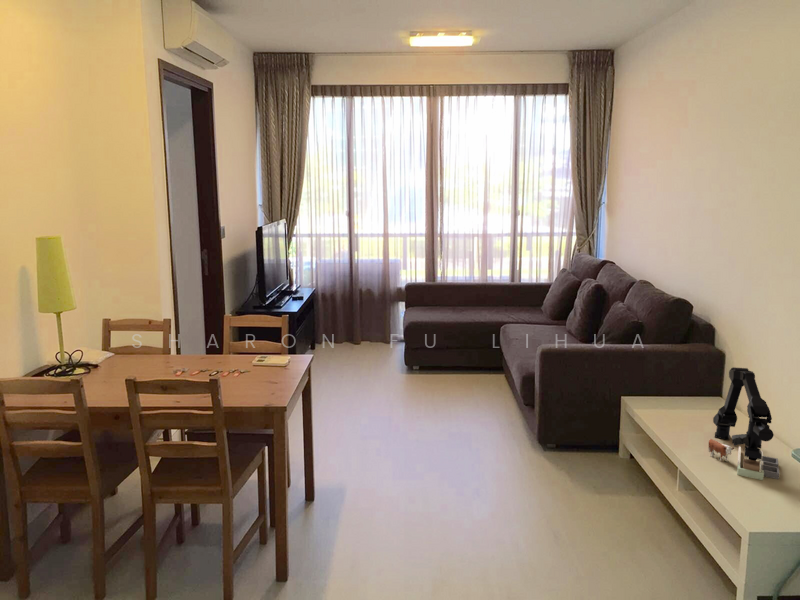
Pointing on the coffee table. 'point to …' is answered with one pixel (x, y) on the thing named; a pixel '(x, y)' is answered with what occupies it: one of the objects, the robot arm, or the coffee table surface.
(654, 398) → the coffee table surface
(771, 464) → the trap pen
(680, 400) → the coffee table surface
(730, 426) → the robot arm
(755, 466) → the walnut block
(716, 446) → the bull figurine
